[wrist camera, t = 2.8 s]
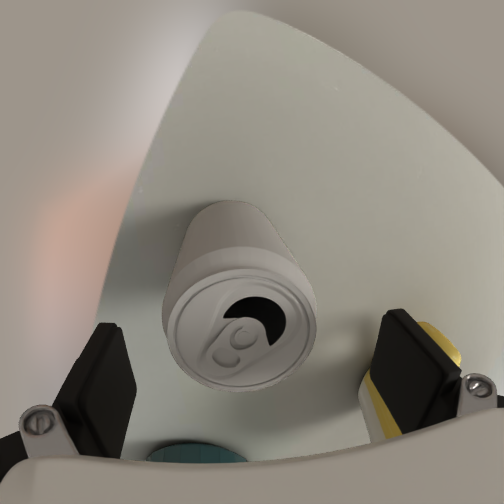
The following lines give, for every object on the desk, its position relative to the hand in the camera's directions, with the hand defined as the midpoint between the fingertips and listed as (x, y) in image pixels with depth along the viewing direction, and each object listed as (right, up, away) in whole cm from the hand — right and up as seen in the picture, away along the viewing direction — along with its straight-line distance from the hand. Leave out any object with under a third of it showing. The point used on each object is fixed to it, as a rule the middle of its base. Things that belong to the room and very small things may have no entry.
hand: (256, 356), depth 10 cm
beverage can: (-2, +4, +12) cm, 13 cm away
